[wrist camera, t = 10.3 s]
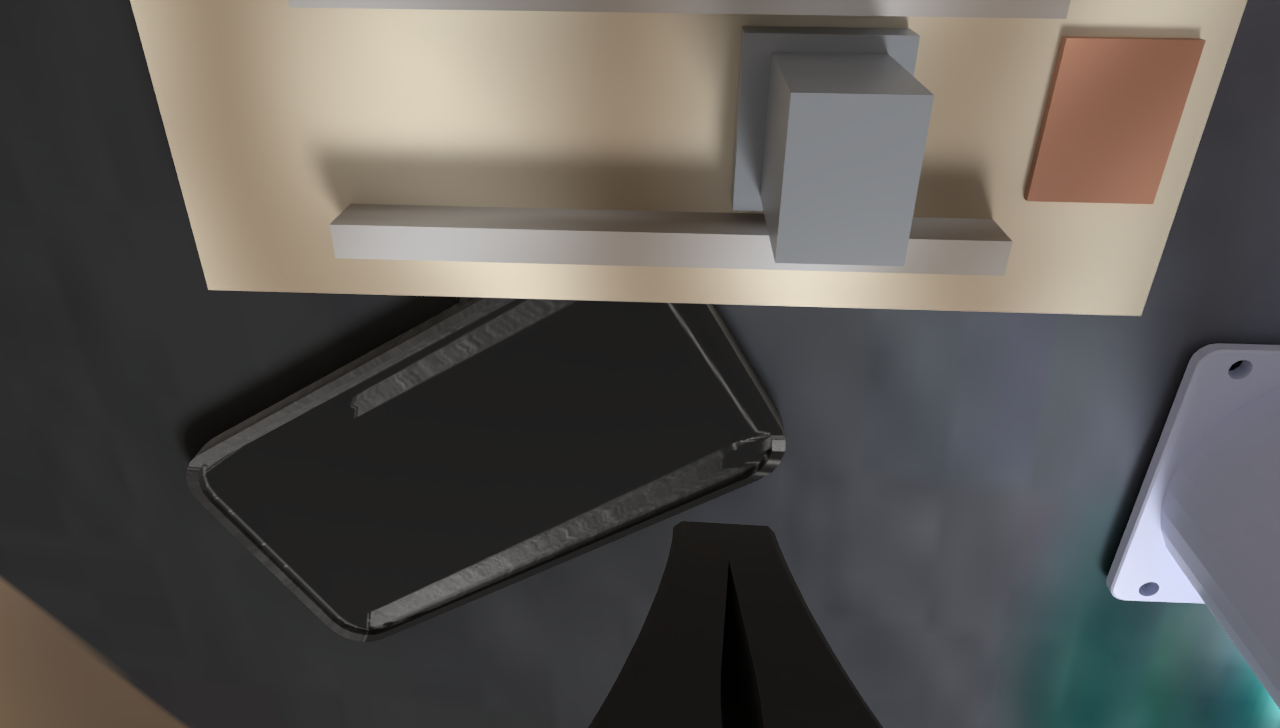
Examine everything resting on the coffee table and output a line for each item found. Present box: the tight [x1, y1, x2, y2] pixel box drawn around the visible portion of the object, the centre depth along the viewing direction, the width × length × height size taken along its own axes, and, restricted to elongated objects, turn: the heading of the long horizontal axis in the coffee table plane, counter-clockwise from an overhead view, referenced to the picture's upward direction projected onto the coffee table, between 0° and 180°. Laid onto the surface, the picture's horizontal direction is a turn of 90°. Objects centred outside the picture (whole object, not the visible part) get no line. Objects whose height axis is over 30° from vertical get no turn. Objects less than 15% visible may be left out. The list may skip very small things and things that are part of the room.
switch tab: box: [731, 26, 934, 266], centre depth 14 cm, size 3×3×4 cm
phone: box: [186, 297, 786, 642], centre depth 23 cm, size 8×1×15 cm
